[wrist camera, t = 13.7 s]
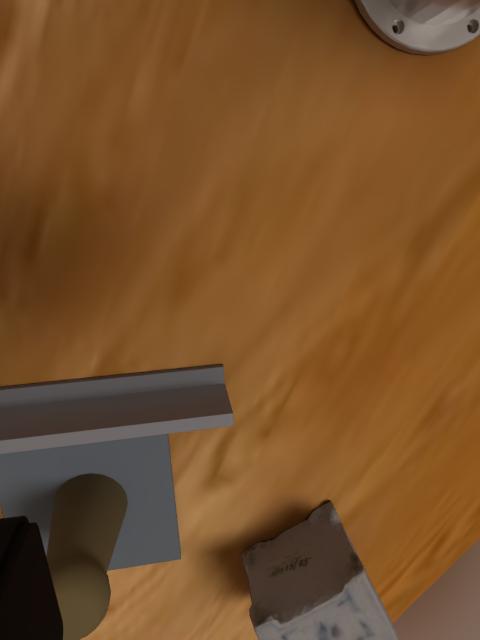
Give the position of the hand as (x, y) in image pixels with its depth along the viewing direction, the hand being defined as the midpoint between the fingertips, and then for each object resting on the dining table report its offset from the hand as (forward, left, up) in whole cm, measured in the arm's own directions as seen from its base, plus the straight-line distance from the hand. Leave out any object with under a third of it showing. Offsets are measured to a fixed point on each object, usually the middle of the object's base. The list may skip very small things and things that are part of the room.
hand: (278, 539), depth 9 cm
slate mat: (+10, +19, -27) cm, 35 cm away
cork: (+10, +19, -27) cm, 34 cm away
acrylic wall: (+9, +10, -27) cm, 30 cm away
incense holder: (-8, +27, -28) cm, 39 cm away
